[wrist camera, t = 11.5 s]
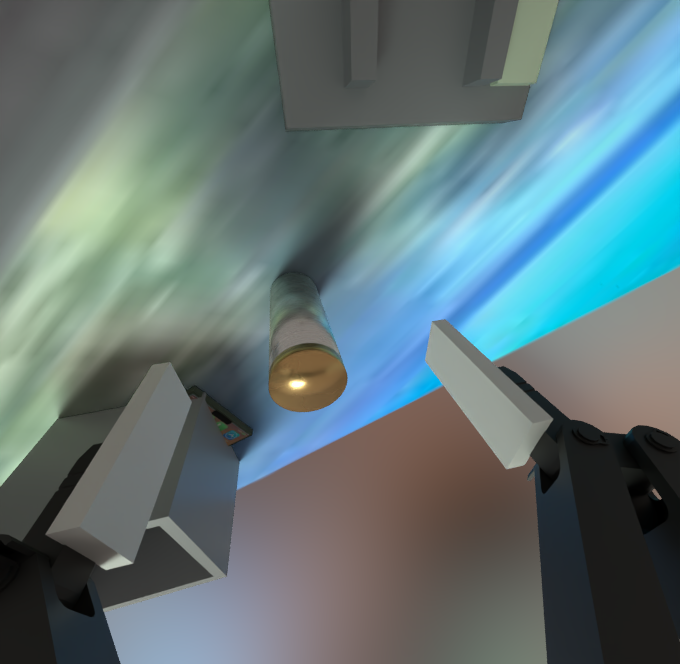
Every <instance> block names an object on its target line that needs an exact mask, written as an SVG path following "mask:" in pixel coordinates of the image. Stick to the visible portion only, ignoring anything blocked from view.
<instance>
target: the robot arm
mask: <svg viewBox="0 0 680 664" xmlns="http://www.w3.org/2000/svg"><path fill="white" fill-rule="evenodd" d="M425 361H426V363H427V364H428V365H429V367H430V368H431V369H432V371H433V372H434V373H435V375H436V376H437V377H438V379H439V380H440V381H441V383H442V384H443V385H444V386H445V388H446V389H447V390H448V392H449V393H450V394H451V396H452V397H453V399H454V400H455V401H456V403H457V404H458V405H459V407H460V408H461V409H462V411H463V412H464V413H465V415H466V416H467V417H468V419H469V420H470V421H471V422H472V424H473V425H474V427H475V428H476V429H477V430H478V432H479V433H480V434H481V436H482V437H483V438H484V440H485V441H486V442H487V444H488V445H489V446H490V447H491V449H492V450H493V452H494V453H495V454H496V456H497V457H498V458H499V460H500V461H501V462H502V464H503V465H504V466H505V468H506V469H510V468H514V467H518V466H522V465H525V463H526V461H527V460H528V458H529V457H530V456H531V457H532V458H533V459H534V461H535V462H536V464H535V466H534V468H533V469H532V471H531V472H530V473H529V475H528V478H527V480H529V481H531V480H532V478H533V477H534V476H535V487H536V503H537V517H538V532H539V547H540V561H541V576H542V591H543V606H544V620H545V634H546V650H547V663H548V664H680V641H679V639H680V441H679V440H678V439H676V438H674V437H673V436H671V435H670V434H668V433H666V432H664V431H661V430H659V429H657V428H653V427H649V426H641V425H638V426H636V427H633V428H632V429H631V430H630V431H629V432H628V434H616V433H605V432H602V431H600V430H599V429H597V428H595V427H594V426H593V425H590V424H587V423H585V422H582V421H577V420H570V419H569V418H568V417H566V416H565V415H564V414H563V413H562V412H560V411H559V410H558V409H557V408H556V407H555V406H553V405H552V404H551V403H550V402H549V401H548V400H547V399H546V398H544V397H543V396H542V395H541V394H540V393H539V392H538V391H535V390H534V388H533V387H532V386H531V385H530V384H527V383H526V381H525V380H524V379H523V378H522V377H520V376H519V375H518V374H517V373H515V372H514V371H511V370H510V369H508V368H506V367H504V366H502V367H496V366H495V365H494V364H493V363H492V362H491V361H490V360H489V359H488V358H487V357H486V356H485V355H483V354H482V353H481V352H480V351H479V350H478V349H477V348H476V347H475V346H474V345H473V344H471V343H470V342H469V341H468V340H467V339H466V338H465V337H464V336H463V335H462V334H461V333H460V332H458V331H457V330H456V329H455V328H454V327H453V326H452V325H451V324H450V323H449V322H448V321H447V320H445V319H444V320H438V321H432V325H431V330H430V336H429V342H428V348H427V353H426V359H425ZM191 403H192V402H191V400H190V398H189V396H188V394H187V392H186V390H185V389H184V387H183V385H182V383H181V381H180V379H179V377H178V376H177V374H176V372H175V370H174V368H173V366H172V364H171V363H170V362H167V363H160V364H154V365H152V366H151V368H150V369H149V371H148V373H147V374H146V376H145V377H144V379H143V380H142V382H141V384H140V385H139V387H138V388H137V390H136V392H135V393H134V395H133V396H132V398H131V399H130V401H129V403H128V404H127V406H126V407H125V409H124V411H123V412H122V414H121V415H120V417H119V418H118V420H117V422H116V423H115V425H114V426H113V428H112V430H111V431H110V433H109V434H108V436H107V437H106V439H105V441H104V442H103V443H99V444H94V445H92V446H91V447H90V448H89V449H88V450H87V451H86V452H85V453H84V454H83V455H82V456H81V457H80V458H79V459H78V460H77V461H76V463H75V464H74V466H73V467H72V469H71V470H70V471H69V473H68V474H67V475H68V476H67V478H65V479H64V480H63V482H62V483H61V485H60V486H59V490H58V491H56V492H55V493H54V495H53V496H52V498H51V499H50V501H49V502H48V504H47V505H46V507H45V508H44V510H43V511H42V513H41V514H40V515H39V517H38V518H37V520H36V521H35V523H34V524H33V526H32V527H31V529H30V530H29V532H28V533H27V534H26V536H25V537H24V539H23V540H22V542H21V541H19V540H18V539H16V538H14V537H12V536H10V535H6V534H0V664H120V661H119V658H118V655H117V651H116V649H115V645H114V642H113V639H112V636H111V633H110V630H109V627H108V624H107V620H106V618H105V614H104V611H103V608H102V605H101V602H100V599H99V596H98V593H97V589H96V586H95V583H94V581H93V580H92V579H91V578H90V577H89V576H90V574H91V572H92V570H93V568H94V566H95V564H97V565H98V566H100V567H102V568H103V569H105V570H109V569H113V568H117V567H121V566H125V565H129V564H133V563H134V560H135V557H136V554H137V552H138V549H139V546H140V543H141V541H142V538H143V535H144V532H145V530H146V527H147V524H148V522H149V519H150V516H151V513H152V511H153V508H154V505H155V502H156V500H157V497H158V494H159V491H160V489H161V486H162V483H163V480H164V478H165V475H166V472H167V469H168V467H169V464H170V461H171V458H172V456H173V453H174V450H175V447H176V445H177V442H178V439H179V436H180V434H181V431H182V428H183V425H184V423H185V420H186V417H187V414H188V412H189V409H190V406H191ZM653 489H656V490H657V492H658V493H659V495H660V496H661V498H662V499H661V500H659V499H658V498H657V497H656V496H655V495H654V493H653V492H652V490H653ZM678 637H679V638H678Z"/></svg>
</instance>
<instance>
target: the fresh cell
mask: <svg viewBox="0 0 680 664" xmlns="http://www.w3.org/2000/svg"><path fill="white" fill-rule="evenodd" d="M346 385H347V373H346V370H345V367H344V364H343V361H342V359H341V356H340V353H339V350H338V347H337V345H336V342H335V339H334V336H333V333H332V330H331V328H330V325H329V322H328V319H327V316H326V314H325V311H324V308H323V305H322V302H321V299H320V297H319V294H318V291H317V288H316V286H315V284H314V282H313V281H312V280H311V279H310V278H309V277H308V276H306V275H304V274H302V273H298V272H290V273H286V274H283V275H281V276H280V277H278V278H277V279H276V280H275V281H274V283H273V284H272V287H271V290H270V339H269V393H270V395H271V397H272V399H273V400H274V401H275V403H277V404H278V405H279V406H281V407H283V408H285V409H287V410H290V411H295V412H310V411H315V410H319V409H322V408H324V407H326V406H328V405H330V404H332V403H333V402H334V401H336V400H337V399H338V398H339V397H340V396H341V394H342V393H343V392H344V390H345V388H346Z"/></svg>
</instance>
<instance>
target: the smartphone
mask: <svg viewBox="0 0 680 664" xmlns="http://www.w3.org/2000/svg"><path fill="white" fill-rule="evenodd" d="M186 392H187V394H188V396H189V398H190V400H192V399H198V398H199V397H202V394H203V391H201V390H200V389H199V388H197V387H196V386H194V387H192V388H190V389H188V390H187V391H186ZM205 401H206V403H207V406H208V408H209V410H210V412H211V414H212V415H213V417H214V419H215V421H216V423H217V425H218V427H219V429H220V431H221V433H222V435H223V437H224V439H225V441H226V443H227V445H228V446H231V445H233V444H235V443H237V442H239V441H241V440H243V439H245V438H247V437H249V436H251V435H252V433H253V429H251V428H250V427H249V426H247V425H246V424H245V423H243V422H242V421H241V420H239V419H238V418H237V417H235V416H234V415H233V414H232V413H230V412H229V411H228V410H226V409H225V408H224V407H222V406H221V405H220V404H218V403H217V402H216V401H214V400H213V399H212V398H210V397H209V396H208V395H207V394H206V398H205Z"/></svg>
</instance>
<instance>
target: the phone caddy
mask: <svg viewBox="0 0 680 664" xmlns="http://www.w3.org/2000/svg"><path fill="white" fill-rule="evenodd" d="M205 398H206V393H205V392H203V394H202V397H199V398H198V399H192V400H191V402H192V403H191V406H190V409H189V412H188V414H187V417H186V420H185V423H184V425H183V428H182V431H181V434H180V436H179V439H178V442H177V445H176V447H175V450H174V453H173V456H172V458H171V461H170V464H169V467H168V469H167V472H166V475H165V478H164V480H163V483H162V486H161V489H160V491H159V494H158V497H157V500H156V502H155V505H154V508H153V511H152V513H151V516H150V519H149V522H148V524H147V527H146V530H145V532H144V535H143V538H142V541H141V543H140V546H139V549H138V552H137V554H136V557H135V560H134V563H133V564H129V565H125V566H121V567H117V568H113V569H109V570H105V569H103V568H102V567H100V566H98V565H97V564H95V566H94V568H93V570H92V572H91V574H90V576H89V577H90V578H91V579H92V580H93V581H94V583H95V586H96V589H97V593H98V596H99V599H100V602H101V605H102V608H103V611H104V612H107V611H110V610H114V609H117V608H120V607H124V606H127V605H131V604H134V603H137V602H141V601H144V600H148V599H151V598H155V597H158V596H162V595H165V594H169V593H172V592H175V591H179V590H182V589H186V588H189V587H193V586H196V585H199V584H203V583H206V582H210V581H213V580H216V579H220V578H223V577H227V571H228V561H229V552H230V543H231V534H232V524H233V516H234V507H235V498H236V489H237V480H238V470H239V461H238V459H237V456H236V454H235V452H234V450H233V448H232V446H228V445H227V443H226V441H225V439H224V437H223V435H222V433H221V431H220V429H219V427H218V425H217V423H216V421H215V419H214V417H213V415H212V414H211V412H210V410H209V408H208V406H207V403H206V401H205ZM125 407H126V406H125ZM125 407H120V408H114V409H109V410H103V411H98V412H93V413H87V414H82V415H76V416H71V417H65V418H60V419H57V420H56V421H55V423H54V424H53V425H52V426H51V427H50V429H49V430H48V431H47V432H46V433H45V434H44V436H43V437H42V438H41V439H40V440H39V442H38V443H37V444H36V445H35V446H34V448H33V449H32V450H31V451H30V452H29V453H28V455H27V456H26V457H25V458H24V459H23V461H22V462H21V463H20V464H19V465H18V467H17V468H16V469H15V470H14V471H13V473H12V474H11V475H10V476H9V477H8V478H7V480H6V481H5V482H4V483H3V484H2V486H1V487H0V534H6V535H10V536H12V537H14V538H16V539H18V540H19V541H21V542H22V540H23V539H24V537H25V536H26V534H27V533H28V532H29V530H30V529H31V527H32V526H33V524H34V523H35V521H36V520H37V518H38V517H39V515H40V514H41V513H42V511H43V510H44V508H45V507H46V505H47V504H48V502H49V501H50V499H51V498H52V496H53V495H54V493H55V492H56V491H58V490H59V486H60V485H61V483H62V482H63V480H64V479H65V478H67V476H68V475H67V474H68V473H69V471H70V470H71V469H72V467H73V466H74V464H75V463H76V461H77V460H78V459H79V458H80V457H81V456H82V455H83V454H84V453H85V452H86V451H87V450H88V449H89V448H90V447H91V446H92V445H94V444H99V443H103V442H104V441H105V439H106V437H107V436H108V434H109V433H110V431H111V430H112V428H113V426H114V425H115V423H116V422H117V420H118V418H119V417H120V415H121V414H122V412H123V411H124V409H125Z"/></svg>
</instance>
